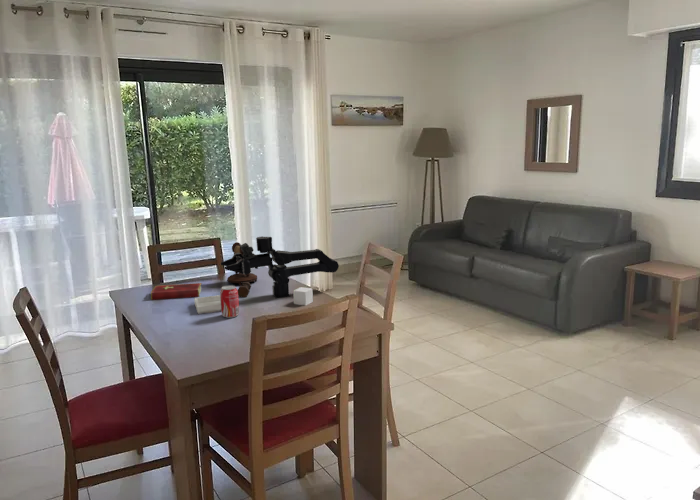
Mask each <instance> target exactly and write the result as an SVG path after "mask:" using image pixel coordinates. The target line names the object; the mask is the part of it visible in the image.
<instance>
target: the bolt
mask: <svg viewBox="0 0 700 500" xmlns="http://www.w3.org/2000/svg"><path fill="white" fill-rule="evenodd" d="M251 287H252V285H251V283H250V282H243V283H241V286H240V285H239V286H238V288H237V290H238V298H248V296H249V294H250V292H251V291H250V289H251Z"/></svg>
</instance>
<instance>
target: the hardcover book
mask: <svg viewBox="0 0 700 500" xmlns="http://www.w3.org/2000/svg"><path fill="white" fill-rule="evenodd" d="M202 284H203V283H202V282H197V283H196V282H195V283H180V284H179V283H178V284H162V285H154V287H153V288H152V290H151V291H150V300H151V301H155V300H159V301H160V300H170V299H171V300H174V299H185V298H186V299H187V298H188V299H189V298H190V299H191V298H200V294H201V292H202Z"/></svg>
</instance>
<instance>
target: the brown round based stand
mask: <svg viewBox="0 0 700 500" xmlns="http://www.w3.org/2000/svg"><path fill="white" fill-rule="evenodd" d="M240 245H242V244H241V243H240V242H238V241H237V242H234V243H233V244H232V246H231V251H232V253H233V255H234V254H235V253H240V254H242V255H243V252H242V250H241V248H240ZM227 282H228V283H229V284H230V283H232V284H238V285H239V287H240V286H241V285H242V283H243V282H249V283H250V282H251V283H252V282H255V283H256V282H258V275H257V274H255V273H251V272H250V273H249V274H246V275H245V274H244V273H243V274H241V273H237V272H234V273H233V274H231V275H229V276H228V277H227Z"/></svg>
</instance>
